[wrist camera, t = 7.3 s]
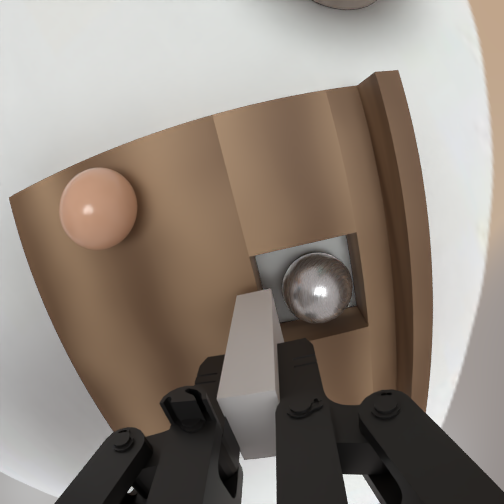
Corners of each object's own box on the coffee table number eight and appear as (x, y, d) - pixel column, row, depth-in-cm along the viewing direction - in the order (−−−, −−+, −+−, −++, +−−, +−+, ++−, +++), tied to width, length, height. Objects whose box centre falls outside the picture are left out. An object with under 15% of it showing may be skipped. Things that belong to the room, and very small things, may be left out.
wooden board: (130, 420, 21) (109, 466, 16) (33, 191, 17) (-21, 205, 12) (398, 377, 19) (423, 426, 14) (361, 93, 15) (398, 70, 10)
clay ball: (96, 246, 15) (59, 269, 11) (77, 179, 14) (34, 186, 10) (158, 228, 14) (128, 249, 11) (137, 155, 14) (101, 156, 10)
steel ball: (276, 326, 17) (327, 344, 14) (260, 265, 16) (315, 273, 13) (318, 297, 19) (368, 308, 16) (307, 241, 18) (361, 244, 15)
